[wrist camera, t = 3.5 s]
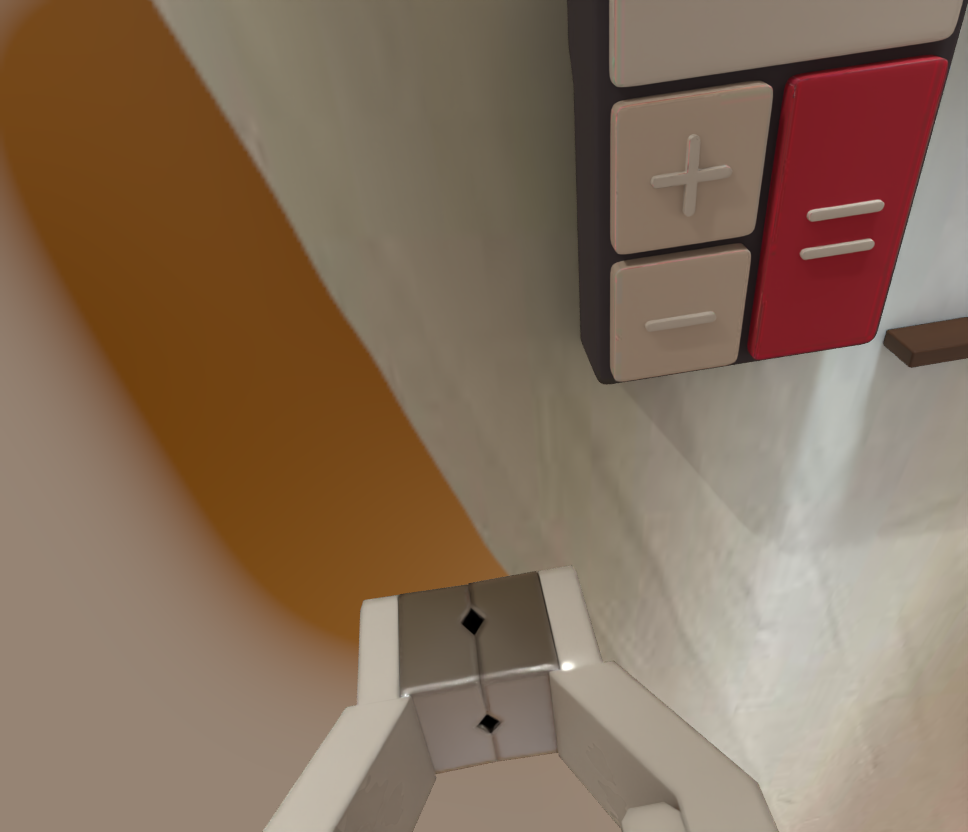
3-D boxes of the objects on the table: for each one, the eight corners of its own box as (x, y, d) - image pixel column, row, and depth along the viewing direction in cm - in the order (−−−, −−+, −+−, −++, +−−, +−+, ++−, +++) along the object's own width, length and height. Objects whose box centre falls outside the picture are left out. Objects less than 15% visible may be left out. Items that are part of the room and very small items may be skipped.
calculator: (602, 400, 27) (598, -83, 18) (576, 339, 30) (563, -94, 21) (887, 354, 27) (1033, -146, 18) (830, 299, 31) (929, -146, 21)
